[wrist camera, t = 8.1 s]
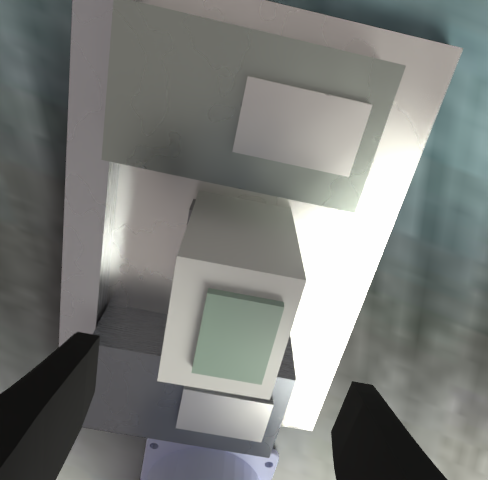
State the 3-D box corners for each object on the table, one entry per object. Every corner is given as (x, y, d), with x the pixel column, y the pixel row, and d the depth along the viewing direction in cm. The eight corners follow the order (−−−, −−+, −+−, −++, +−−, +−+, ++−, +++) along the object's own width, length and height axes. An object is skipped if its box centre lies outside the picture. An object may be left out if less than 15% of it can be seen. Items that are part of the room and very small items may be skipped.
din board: (309, 414, 26) (320, 486, 21) (67, 371, 24) (30, 439, 20) (449, 47, 17) (511, 52, 13) (88, -41, 16) (33, -65, 12)
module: (265, 304, 21) (269, 406, 15) (179, 288, 21) (151, 386, 15) (291, 208, 19) (307, 285, 13) (195, 189, 18) (170, 259, 13)
